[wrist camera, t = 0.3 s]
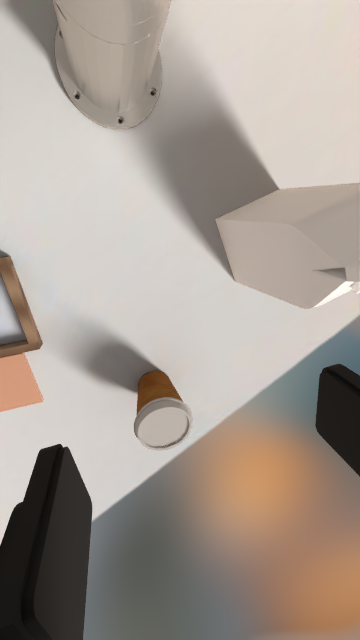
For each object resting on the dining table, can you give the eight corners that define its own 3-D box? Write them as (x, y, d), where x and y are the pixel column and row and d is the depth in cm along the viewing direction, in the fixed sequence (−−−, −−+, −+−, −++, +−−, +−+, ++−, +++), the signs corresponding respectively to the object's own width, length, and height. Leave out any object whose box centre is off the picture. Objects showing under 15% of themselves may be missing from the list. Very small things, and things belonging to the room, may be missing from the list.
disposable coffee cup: (126, 403, 51) (129, 453, 40) (134, 361, 48) (140, 403, 37) (171, 404, 54) (186, 452, 43) (182, 365, 51) (201, 405, 40)
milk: (279, 189, 43) (481, 155, 19) (292, 253, 48) (466, 289, 24) (215, 219, 42) (343, 222, 19) (235, 281, 47) (356, 346, 24)
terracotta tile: (-30, 362, 41) (-32, 364, 41) (23, 351, 43) (22, 353, 42) (-6, 411, 45) (-7, 413, 45) (43, 399, 46) (42, 401, 46)
